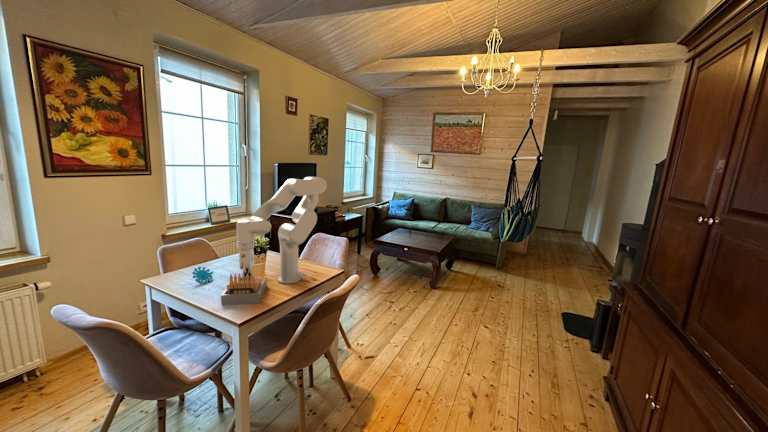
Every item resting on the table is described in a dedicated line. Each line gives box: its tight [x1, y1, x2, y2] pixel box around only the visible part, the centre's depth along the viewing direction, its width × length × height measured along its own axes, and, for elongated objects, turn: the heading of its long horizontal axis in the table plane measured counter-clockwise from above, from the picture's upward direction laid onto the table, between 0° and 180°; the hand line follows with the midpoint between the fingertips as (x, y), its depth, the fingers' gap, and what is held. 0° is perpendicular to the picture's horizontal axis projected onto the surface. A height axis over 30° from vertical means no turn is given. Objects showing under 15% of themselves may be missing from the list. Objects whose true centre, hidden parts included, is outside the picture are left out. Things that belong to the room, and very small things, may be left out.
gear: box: [191, 266, 215, 285], centre depth 161 cm, size 11×6×10 cm
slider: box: [226, 276, 262, 294], centre depth 146 cm, size 9×13×7 cm
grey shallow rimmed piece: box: [220, 276, 267, 306], centre depth 148 cm, size 20×16×4 cm
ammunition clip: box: [229, 272, 255, 294], centre depth 141 cm, size 11×2×12 cm, turn 101°
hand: (247, 280), depth 153 cm, fingers closed
